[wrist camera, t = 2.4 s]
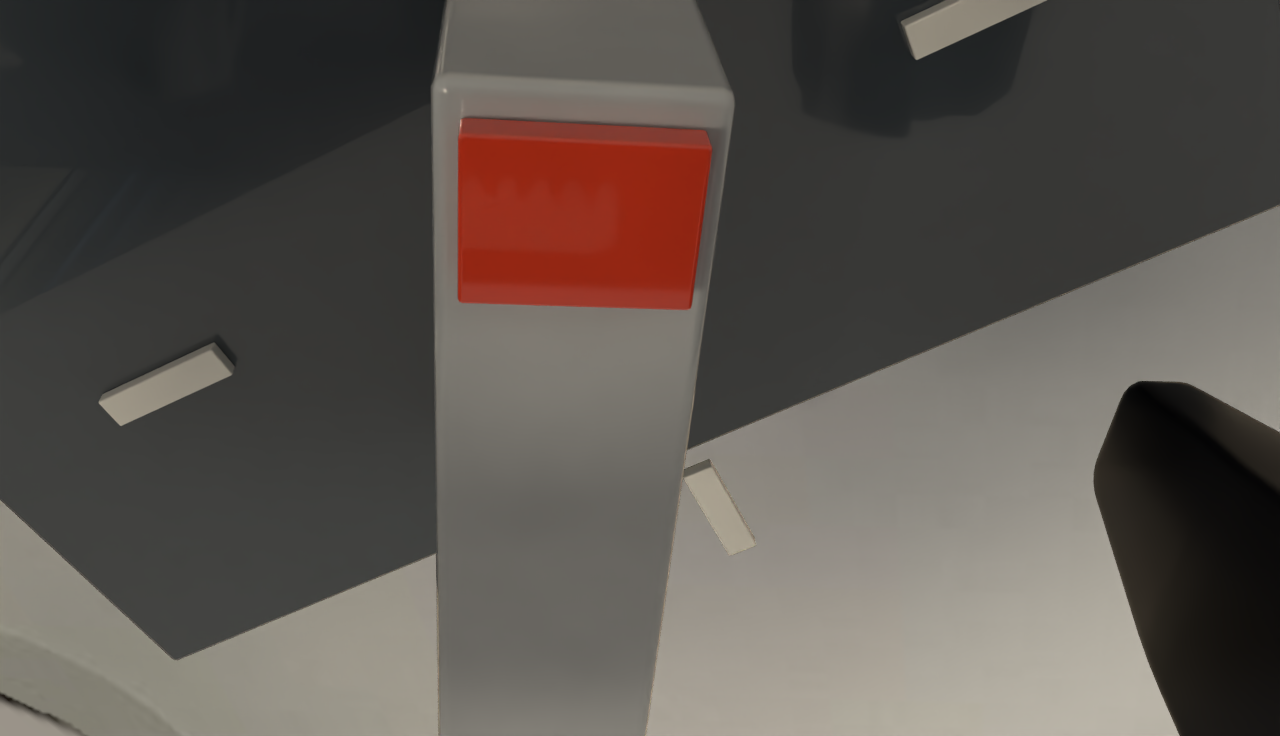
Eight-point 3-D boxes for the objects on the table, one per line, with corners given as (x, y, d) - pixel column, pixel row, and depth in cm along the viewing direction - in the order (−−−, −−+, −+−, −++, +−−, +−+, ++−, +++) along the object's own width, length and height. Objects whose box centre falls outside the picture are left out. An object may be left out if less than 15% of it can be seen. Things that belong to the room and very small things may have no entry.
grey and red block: (605, 451, 13) (642, 828, 9) (461, 448, 13) (437, 831, 9) (658, -112, 10) (749, 111, 6) (463, -128, 10) (426, 94, 6)
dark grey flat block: (288, 572, 18) (249, 745, 15) (-495, -273, 11) (-809, -217, 8) (1196, 191, 15) (1332, 320, 13) (919, -1214, 9) (1092, -1543, 6)
